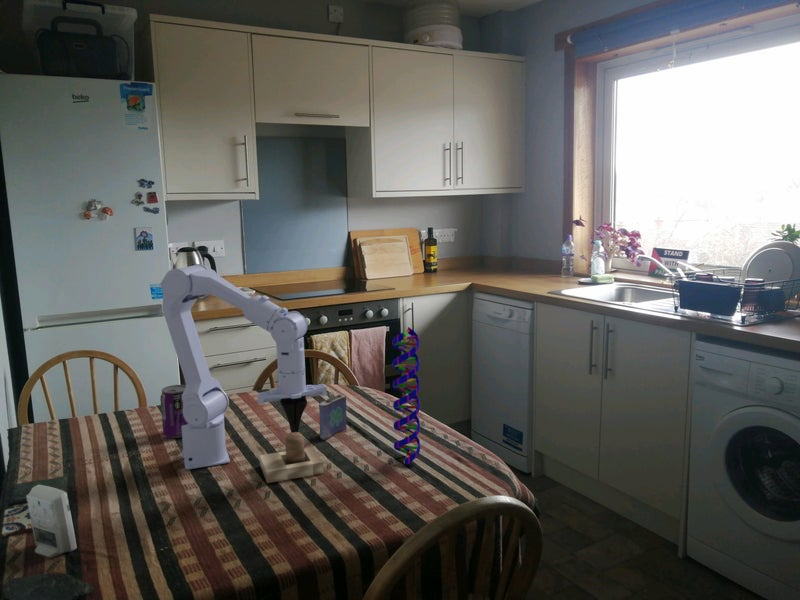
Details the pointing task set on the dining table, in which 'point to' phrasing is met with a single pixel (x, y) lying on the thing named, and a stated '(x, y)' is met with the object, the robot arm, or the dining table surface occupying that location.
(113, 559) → the dining table surface
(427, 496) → the dining table surface
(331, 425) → the flask
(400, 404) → the dna model
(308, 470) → the board
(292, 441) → the peg
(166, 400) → the beverage can
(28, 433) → the dining table surface
